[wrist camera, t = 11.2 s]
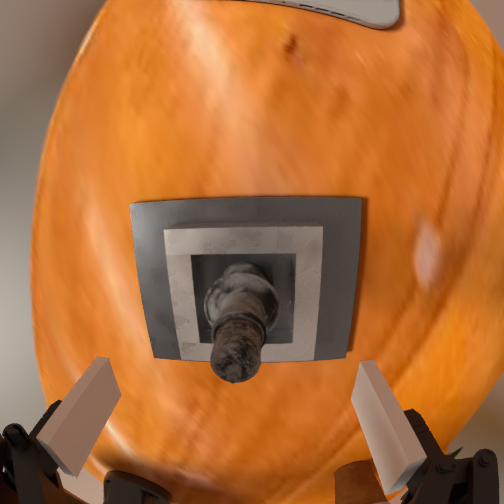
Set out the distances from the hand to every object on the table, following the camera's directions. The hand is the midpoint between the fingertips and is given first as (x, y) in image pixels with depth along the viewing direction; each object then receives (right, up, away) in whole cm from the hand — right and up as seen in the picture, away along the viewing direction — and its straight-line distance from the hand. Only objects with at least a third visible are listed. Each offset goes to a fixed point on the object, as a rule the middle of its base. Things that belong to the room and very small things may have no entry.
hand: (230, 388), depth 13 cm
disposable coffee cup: (+18, -31, +22) cm, 42 cm away
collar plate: (+1, +4, +13) cm, 13 cm away
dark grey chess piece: (0, +3, +12) cm, 12 cm away
